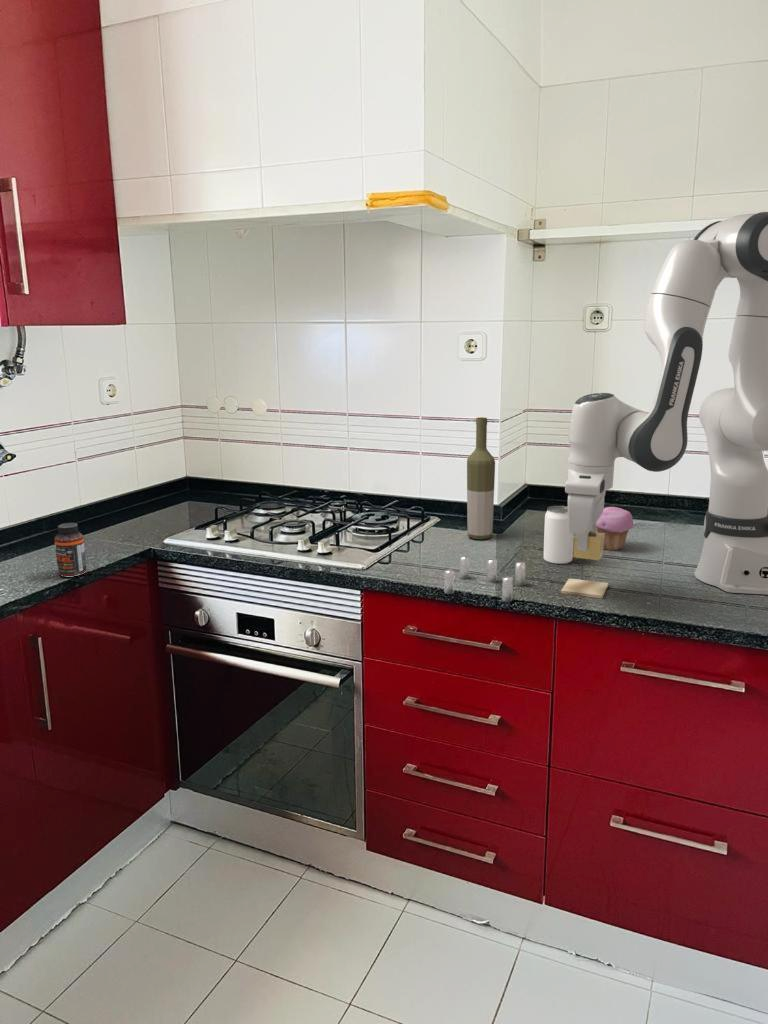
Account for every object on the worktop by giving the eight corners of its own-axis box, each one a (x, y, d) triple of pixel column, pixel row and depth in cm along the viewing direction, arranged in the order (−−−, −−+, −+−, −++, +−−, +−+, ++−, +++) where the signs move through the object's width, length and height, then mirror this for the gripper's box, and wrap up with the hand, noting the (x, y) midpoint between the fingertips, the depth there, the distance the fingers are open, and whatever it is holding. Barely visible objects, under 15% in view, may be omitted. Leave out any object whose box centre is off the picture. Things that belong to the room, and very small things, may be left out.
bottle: (469, 532, 202) (470, 415, 194) (496, 534, 199) (498, 416, 192) (462, 540, 195) (464, 419, 188) (490, 542, 193) (493, 420, 186)
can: (537, 558, 180) (539, 507, 177) (562, 554, 182) (564, 504, 179) (553, 566, 174) (555, 513, 171) (578, 562, 176) (580, 510, 173)
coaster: (608, 585, 161) (608, 582, 161) (602, 598, 154) (602, 595, 154) (568, 581, 164) (568, 578, 164) (561, 593, 157) (561, 590, 157)
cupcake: (603, 541, 192) (605, 501, 190) (637, 547, 187) (640, 506, 185) (586, 549, 186) (588, 508, 183) (621, 555, 180) (624, 513, 178)
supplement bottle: (53, 578, 171) (47, 528, 168) (65, 570, 176) (59, 521, 174) (80, 578, 170) (74, 528, 168) (91, 570, 176) (86, 521, 173)
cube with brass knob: (602, 555, 158) (604, 531, 157) (598, 560, 153) (601, 536, 152) (577, 551, 160) (579, 528, 159) (573, 557, 155) (575, 533, 154)
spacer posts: (525, 583, 163) (526, 562, 162) (510, 602, 152) (511, 580, 151) (461, 575, 169) (461, 555, 168) (442, 593, 158) (442, 572, 157)
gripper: (582, 467, 164) (578, 531, 167) (563, 485, 145) (559, 557, 149) (613, 469, 161) (609, 534, 165) (598, 488, 143) (593, 561, 146)
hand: (585, 545), depth 157 cm, fingers closed on cube with brass knob, 5 cm apart
